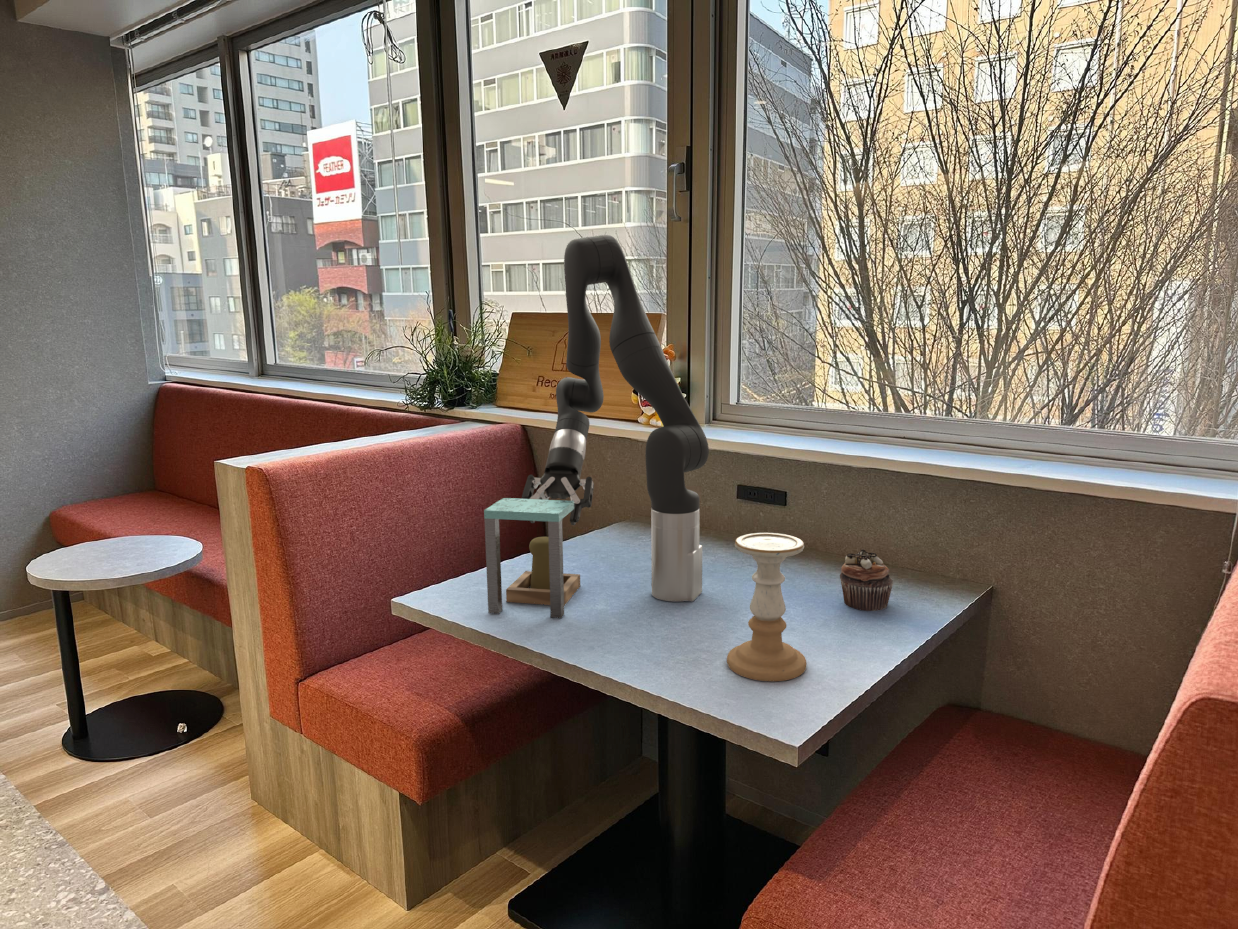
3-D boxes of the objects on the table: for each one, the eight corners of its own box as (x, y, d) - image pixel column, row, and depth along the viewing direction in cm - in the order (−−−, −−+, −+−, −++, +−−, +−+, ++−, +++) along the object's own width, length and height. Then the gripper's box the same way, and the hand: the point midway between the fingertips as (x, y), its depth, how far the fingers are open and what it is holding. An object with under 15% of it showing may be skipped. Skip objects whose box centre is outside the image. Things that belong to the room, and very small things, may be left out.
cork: (555, 597, 164) (552, 543, 162) (525, 596, 166) (522, 542, 164) (564, 587, 170) (561, 534, 168) (536, 585, 171) (532, 533, 169)
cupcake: (878, 617, 153) (880, 563, 151) (829, 604, 159) (831, 553, 158) (901, 602, 160) (904, 551, 158) (853, 591, 166) (856, 542, 165)
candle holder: (713, 671, 131) (715, 545, 127) (745, 644, 141) (747, 526, 138) (789, 689, 125) (793, 557, 121) (817, 659, 135) (821, 537, 131)
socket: (526, 582, 174) (525, 571, 173) (580, 586, 171) (580, 574, 171) (506, 602, 163) (506, 589, 162) (564, 606, 160) (564, 593, 160)
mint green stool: (507, 595, 166) (503, 497, 163) (576, 599, 163) (573, 500, 160) (488, 613, 157) (484, 510, 153) (561, 618, 154) (558, 513, 150)
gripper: (529, 444, 177) (513, 511, 168) (595, 446, 174) (582, 513, 165) (538, 465, 183) (522, 530, 175) (602, 466, 180) (589, 533, 171)
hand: (551, 522), depth 170 cm, fingers open, 8 cm apart
